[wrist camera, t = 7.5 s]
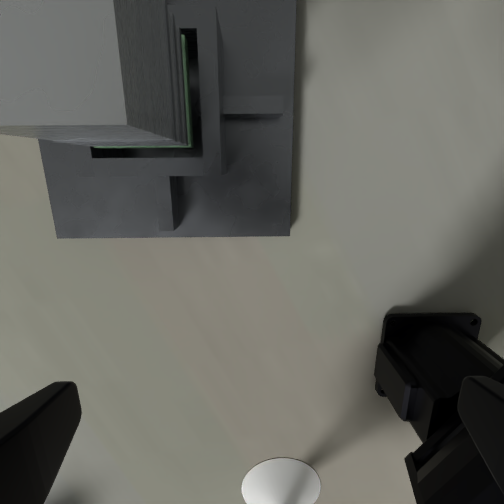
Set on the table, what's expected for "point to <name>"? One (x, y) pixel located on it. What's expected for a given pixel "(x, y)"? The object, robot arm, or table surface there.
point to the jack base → (198, 140)
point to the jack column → (94, 73)
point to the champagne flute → (281, 483)
